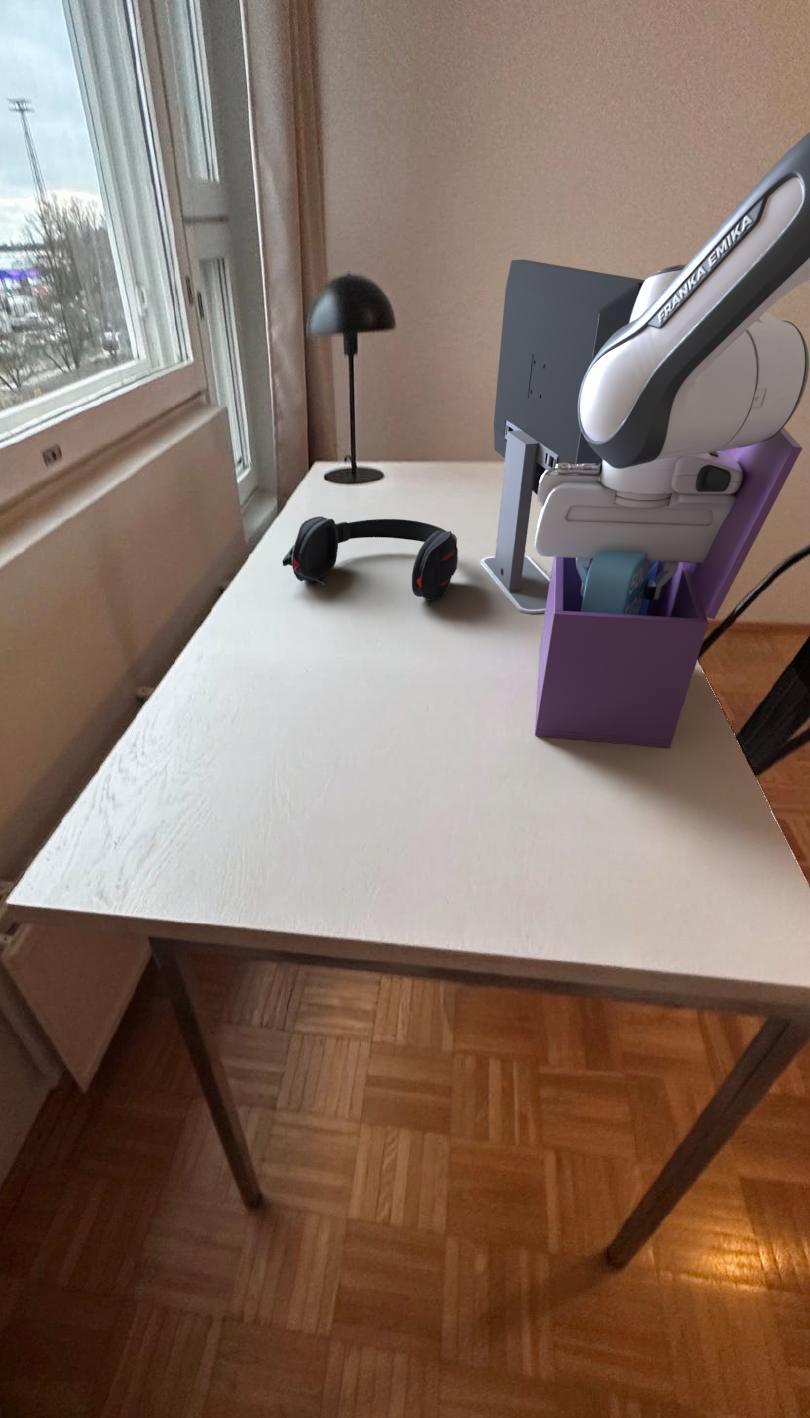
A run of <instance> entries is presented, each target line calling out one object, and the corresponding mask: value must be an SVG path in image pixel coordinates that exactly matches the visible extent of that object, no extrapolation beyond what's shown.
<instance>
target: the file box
mask: <svg viewBox="0 0 810 1418" xmlns="http://www.w3.org/2000/svg"><path fill="white" fill-rule="evenodd" d="M593 559H594V558H591V559H590V564H589V567H590V565H591V562H592V560H593ZM551 565H552V566H551V571H550V577H549V578H550V584H549V591H548V597H547V604H546V611H545V613H544V617H543V625H542V632H541V638H540V645H539V654H538V655H539V656H538V658H539V659H538V674H537V688H536V689H537V691H536V709H535V710H536V711H535V727H534V737H535V736H536V737H546V738H557V739H567V740H577V741H590V742H599V743H612V744H624V745H633V746H634V745H635V746H644V747H645V746H646V747H656V748H657V747H658V748H665V749H666V748H667V749H670V748H671V747H672V743H673V741H674V737H675V734H676V730H677V727H678V724H679V720H680V717H681V714H682V712H683V707H684V705H685V702H686V698H687V694H688V692H689V688H690V685H691V681H692V679H693V675H694V672H695V668H696V665H697V662H698V659H699V656H700V654H701V653H700V652H701V649H702V646H703V642H704V640H705V636H706V633H707V630H708V627H709V621H708V618H707V617H706V615H705V612H704V609H703V606H702V603H701V599H700V596H699V593H698V590H697V587H696V584H695V581H694V578H693V575H692V572H691V569H690V565H689V563H685V562H679V565H678V568H677V572H676V573H675V574H674V575H673V576H672V577H671V578H670V579H669V580H668V581H667V582H666V583H665V585H664V586H662V588H661V592H660V595H659V599H658V600H650V601H649V605H648V609H647V613H646V616H642V615H625V614H607V613H590V612H581V607H582V602H583V596H581V585H582V580H581V578H580V575H579V573H578V571H577V568H576V558H571V557H552V564H551ZM589 567H586V569H587V572H588V570H589ZM662 569H663V566H662V561H659V564H658V568H657V572H656V576H657V575H658V574H659V573H660V572H661V571H662ZM656 576H655V578H656Z"/></svg>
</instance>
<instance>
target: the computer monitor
mask: <svg viewBox="0 0 810 1418" xmlns="http://www.w3.org/2000/svg"><path fill="white" fill-rule="evenodd" d="M645 280H646V279H641V278H635V277H629V276H622V275H617V274H611V273H605V272H600V271H593V270H587V269H581V268H575V267H570V266H564V265H558V264H552V263H546V262H542V261H541V262H540V261H534V260H529V259H511V262H510V265H509V270H508V275H507V280H506V283H505V284H506V285H505V290H504V291H505V293H504V303H503V314H502V325H501V337H500V349H499V360H498V361H499V362H498V371H497V372H498V373H497V383H496V394H495V404H494V405H495V406H494V408H495V409H494V417H493V445H494V447H493V448H494V451H496V452H497V453H498V454H499V455H500V456H501V457H503V458H504V465H503V474H502V483H501V484H502V485H501V496H500V497H501V498H500V505H499V515H498V525H497V536H496V545H495V554H494V555H495V556H494V555H493V556H486V557H484V558H482V559H481V560H480V564H481V566H482V567H483V568H484V570H485V571H486V572H487V573H488V574H489V576H490V577H491V578H492V580H493V581H494V582H495V583H496V585H497V586H498V587H499V588H500V590H501V591H502V592H503V593H504V595H505V596H506V597H507V598H508V599H509V602H510V603H512V604H513V606H514V607H515V608H516V610H518V611H519V612H521V613H524V614H532V615H533V614H535V615H536V614H542V613H543V614H545V611H546V604H547V597H548V591H549V584H550V577H549V576H548V575H547V574H546V573H545V571H544V570H543V569H541V568H540V567H539V565H537V563H536V562H535V561H534V560H533V559H532V558H531V557H530V556H529V555H526V548H527V547H526V546H527V540H528V539H527V538H528V530H529V523H530V515H531V514H530V513H531V506H532V498H533V493H534V494H535V495H537V496H538V488H539V481H540V478H541V476H542V475H543V473H544V472H545V471H546V470H548V469H549V468H552V467H555V466H556V465H557V463H562V462H567V463H570V464H579V463H601V462H602V461H603V459H602V458H601V457H600V456H598V455H597V454H596V452H595V451H594V450H593V449H592V448H591V447H590V445H589V444H588V442H587V441H586V439H585V437H584V435H583V433H582V431H581V428H580V425H579V420H578V400H579V393H580V389H581V385H582V382H583V379H584V377H585V375H586V372H587V370H588V368H589V367H590V365H591V363H592V361H593V360H594V358H595V356H596V355H597V354H598V352H599V351H600V349H601V348H602V347H603V345H604V344H605V343H606V342H607V341H608V340H609V338H610V337H611V336H612V335H613V334H614V333H615V332H616V331H618V330H619V329H620V328H622V327H624V326H625V325H627V324H629V321H630V318H631V314H632V311H633V308H634V305H635V302H636V299H637V296H638V294H639V291H640V289H641V287H642V285H643V283H644V281H645ZM555 472H556V471H552V472H550V473H555ZM599 477H600V474H599Z"/></svg>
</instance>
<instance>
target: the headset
mask: <svg viewBox="0 0 810 1418" xmlns="http://www.w3.org/2000/svg"><path fill="white" fill-rule="evenodd" d="M362 538H363V539H365V538H366V539H367V538H387V539H397V540H407V541H415V542H421V543H423V544H422V545H421V547H420V548H419V550H418V551H417V552H418V553H417V555H416V557H415V560H414V563H413V567H412V572H411V591H412V593H413V595H414V596H416V597H417V598H424V599H426V600H429V601H431V600H437V599H440V598H442V597H444V595H446V593H447V592H448V589H449V586H450V583H451V580H452V577H453V576H454V574H455V573H456V571H457V568H458V557H459V556H458V555H459V553H458V552H459V551H458V550H459V549H458V537H457V536H456V534H454V533H453V532H452V531H451V530H449V531H447V530H445V529H444V528H442V527H440V526H436V525H433V524H431V523H427V522H423V521H419V520H411V519H404V518H403V519H401V518H375V519H374V518H373V519H365V520H356V521H351V522H348V521H342V522H337V523H336V521H335V520H334V519H333V518H327V517H324V516H320V515H319V516H314V517H312V518H309V519H306V520H305V521H304V522H302V523H301V524H300V527H299V530H298V532H297V535H296V538H295V542H294V544H293V545H292V546H291V548H290V549H289V551H288V552H287V553H286V554H285V556H284V557H283V559H282V566H283V567H286V566H291V567H292V571H293V574H294V576H295V578H296V579H297V580H298V581H299V582H303V581H305V582H307V581H308V582H319V583H321V584H322V585H320V586H318V588H322V587H324V586H325V583H324V582H322V581H320V579H321V578H323V577H325V576H326V575H327V574H328V573H329V572H330V571H332V569H333V568H334V566H335V565H336V563H337V557H338V550H339V544H341V543H344V542H348V541H349V540H353V539H362Z"/></svg>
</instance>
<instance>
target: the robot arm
mask: <svg viewBox="0 0 810 1418" xmlns="http://www.w3.org/2000/svg"><path fill="white" fill-rule="evenodd" d="M644 280H645V281H644V283H643V285H642V287H641V289H640V291H639V294H638V296H637V299H636V302H635V305H634V308H633V311H632V314H631V318H630V321H629V324H627V325H625V326H624V327H622V328H620V329H619V330H618V331H616V332H615V333H614V334H613V335H612V336H611V337H610V338H609V340H608V341H607V342H606V343H605V344H604V345H603V347H602V348H601V349H600V351H599V352H598V354H597V355H596V356H595V358H594V360H593V361H592V363H591V365H590V367H589V368H588V370H587V372H586V375H585V377H584V379H583V382H582V385H581V389H580V393H579V400H578V420H579V425H580V428H581V431H582V433H583V435H584V437H585V439H586V441H587V442H588V444H589V445H590V447H591V448H592V449H593V450H594V451H595V452H596V454H597V455H598V456H600V457H601V458H602V459H603V461H602V462H601V463H579V464H570V463H567V462H562V463H557V465H556V466H555V467H552V468H549V469H548V470H546V471H545V472H544V473H543V475H542V476H541V478H540V481H539V488H538V495H537V501H538V504H539V505H540V506H541V509H540V511H539V512H540V513H539V517H538V520H537V525H536V531H535V538H534V545H533V547H534V549H535V551H536V552H537V553H538V555H539V556H540V557H549V558H550V557H551V558H553V557H571V558H576V568H577V571H578V573H579V575H580V578H581V580H582V585H581V596H584V591H585V585H586V580H587V574H588V572H587V569H586V567H589V564H590V559H591V558H594V557H595V556H596V555H597V554H598V553H599V552H601V551H619V552H643V553H646V554H647V557H646V561H662V566H663V569H662V571H661V572H660V573H659V574H658V575H657V576H656V578H655V579H647V581H646V585H645V586H646V588H645V589H644V594H643V596H644V599H645V600H658V599H659V595H660V592H661V588H662V586H664V585H665V583H666V582H667V581H668V580H669V579H670V578H671V577H672V576H673V575H674V574H675V573H676V572H677V568H678V565H679V562H685V563H703V562H704V560H705V558H706V556H707V554H708V552H709V550H710V548H711V546H712V543H713V541H714V539H715V537H716V535H717V533H718V531H719V529H720V527H721V525H722V524H723V522H724V520H725V518H726V517H727V515H728V513H729V512H730V510H731V508H732V506H733V504H734V502H735V500H736V495H735V492H737V491H738V489H739V488H740V486H741V483H742V480H743V472H742V469H741V467H740V465H739V463H738V462H737V461H736V460H735V459H734V458H733V457H732V456H731V455H730V454H727V453H725V452H722V451H721V450H729V449H735V448H742V447H747V446H751V445H754V444H757V443H760V442H764V441H767V440H769V439H771V438H772V437H774V436H775V435H776V434H777V433H778V432H779V431H780V430H781V429H782V428H783V427H784V428H785V427H786V425H787V424H788V423H789V422H790V420H791V419H792V418H793V416H794V414H795V413H796V411H797V408H798V407H799V405H800V404H801V400H802V399H803V396H804V393H805V390H806V387H807V383H808V379H809V371H810V357H809V356H810V354H809V348H808V345H807V341H806V339H805V338H804V335H803V333H802V332H801V330H800V329H799V328H798V327H797V326H796V324H794V322H791V321H788V320H782V319H779V318H778V317H777V316H774V315H773V314H772V313H769V312H768V310H769V309H771V307H773V306H774V305H775V304H776V303H777V302H778V301H779V300H781V299H782V298H784V297H785V296H786V295H788V294H789V293H790V292H792V291H793V290H795V289H797V288H798V287H800V286H802V285H803V284H805V283H807V282H809V281H810V131H809V132H807V133H806V134H805V135H803V137H802V138H801V139H799V140H798V141H797V142H796V143H795V144H794V145H792V147H790V149H789V150H788V151H786V153H785V154H783V156H782V157H781V158H780V159H779V160H778V161H777V162H776V163H775V164H774V165H772V167H771V168H770V169H769V170H768V172H766V173H765V175H764V176H763V177H762V178H761V179H760V181H758V183H757V184H756V185H755V186H754V187H753V188H752V189H751V191H750V192H748V194H747V195H746V196H745V197H744V198H743V199H742V201H740V203H739V204H738V205H737V206H736V207H735V209H734V210H732V212H731V213H730V214H729V215H728V217H726V219H725V220H724V221H723V222H722V223H721V225H720V226H719V227H718V228H717V229H716V230H715V231H714V232H713V233H712V235H711V236H710V237H709V238H708V240H706V242H704V244H703V246H702V247H700V249H699V250H697V252H696V253H695V255H693V257H691V259H690V260H689V261H688V262H687V263H686V264H676V265H672V266H671V265H670V266H667V267H664V268H661V269H659V270H657V271H655V272H653V273H652V274H651V275H649V276H648V277H647V278H646V279H644ZM552 471H556V472H555V473H550V472H552ZM599 474H600V477H599Z"/></svg>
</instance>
